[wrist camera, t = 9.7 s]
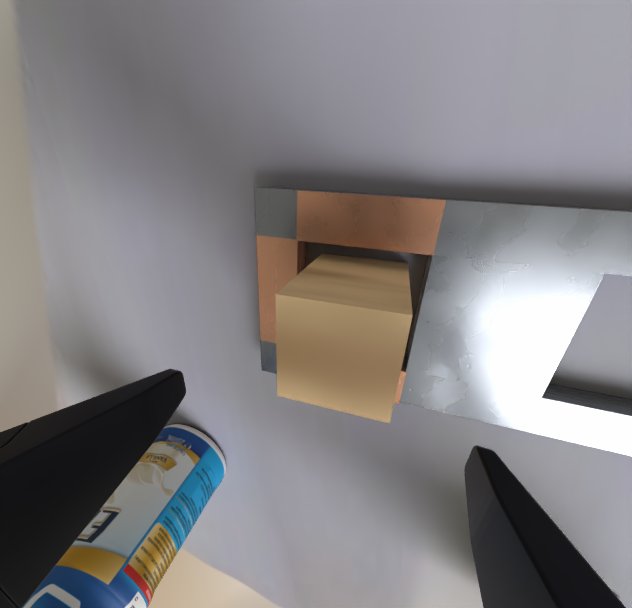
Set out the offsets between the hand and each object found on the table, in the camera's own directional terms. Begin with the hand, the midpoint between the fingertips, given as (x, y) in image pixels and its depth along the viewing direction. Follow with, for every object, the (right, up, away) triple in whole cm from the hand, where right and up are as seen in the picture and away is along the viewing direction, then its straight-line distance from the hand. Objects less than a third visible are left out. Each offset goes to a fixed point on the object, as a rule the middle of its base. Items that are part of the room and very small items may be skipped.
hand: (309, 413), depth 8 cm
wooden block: (+3, +4, +9) cm, 10 cm away
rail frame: (+10, +3, +7) cm, 12 cm away
